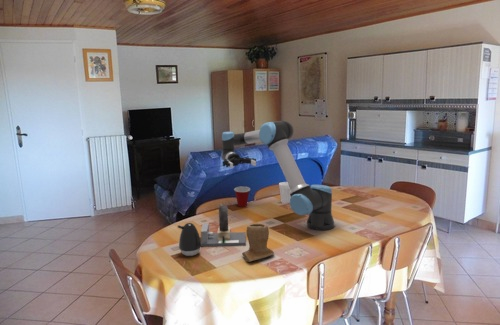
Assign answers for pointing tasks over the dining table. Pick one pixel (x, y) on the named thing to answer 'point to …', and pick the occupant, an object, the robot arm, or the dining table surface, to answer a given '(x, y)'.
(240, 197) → the plastic cup
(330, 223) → the robot arm
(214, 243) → the gauge base
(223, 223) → the gauge slider
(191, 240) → the pump dispenser
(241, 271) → the dining table surface
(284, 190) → the foam cup
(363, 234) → the dining table surface
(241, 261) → the dining table surface
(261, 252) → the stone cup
